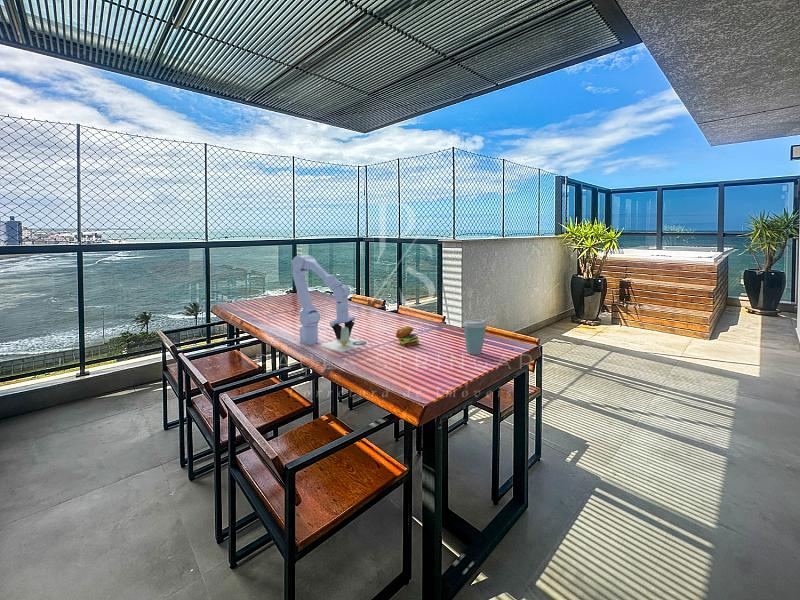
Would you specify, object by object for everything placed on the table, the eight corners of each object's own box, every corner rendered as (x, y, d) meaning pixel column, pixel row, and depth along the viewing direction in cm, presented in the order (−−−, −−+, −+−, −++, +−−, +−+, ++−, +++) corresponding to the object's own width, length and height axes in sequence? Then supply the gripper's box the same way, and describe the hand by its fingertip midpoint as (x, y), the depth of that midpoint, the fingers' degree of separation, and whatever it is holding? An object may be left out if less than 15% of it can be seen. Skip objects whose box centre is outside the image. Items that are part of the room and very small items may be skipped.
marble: (339, 345, 184) (339, 339, 184) (344, 343, 186) (343, 338, 186) (343, 346, 182) (343, 340, 182) (348, 345, 184) (347, 339, 184)
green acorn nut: (335, 340, 184) (334, 328, 183) (344, 337, 188) (343, 326, 187) (342, 342, 180) (342, 330, 179) (351, 339, 184) (351, 327, 183)
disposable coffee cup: (459, 354, 169) (460, 322, 166) (465, 348, 179) (465, 317, 176) (483, 357, 165) (484, 323, 162) (487, 350, 175) (488, 318, 172)
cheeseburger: (418, 347, 181) (413, 327, 179) (397, 351, 183) (392, 332, 182) (421, 341, 190) (416, 322, 189) (401, 345, 193) (396, 326, 192)
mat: (317, 346, 185) (317, 345, 185) (346, 338, 199) (346, 337, 199) (342, 353, 173) (342, 352, 173) (371, 344, 187) (371, 343, 187)
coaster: (349, 343, 187) (349, 343, 187) (360, 340, 192) (360, 340, 192) (359, 346, 182) (359, 345, 182) (369, 343, 187) (369, 342, 187)
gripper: (336, 313, 173) (337, 342, 176) (359, 308, 184) (359, 335, 187) (326, 311, 178) (327, 339, 180) (349, 307, 189) (350, 333, 191)
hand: (343, 337), depth 184 cm, fingers closed on green acorn nut, 6 cm apart
